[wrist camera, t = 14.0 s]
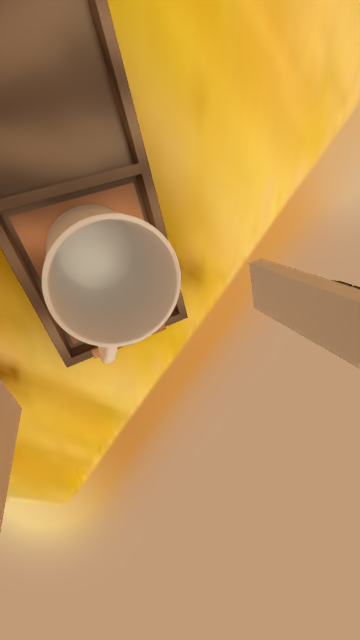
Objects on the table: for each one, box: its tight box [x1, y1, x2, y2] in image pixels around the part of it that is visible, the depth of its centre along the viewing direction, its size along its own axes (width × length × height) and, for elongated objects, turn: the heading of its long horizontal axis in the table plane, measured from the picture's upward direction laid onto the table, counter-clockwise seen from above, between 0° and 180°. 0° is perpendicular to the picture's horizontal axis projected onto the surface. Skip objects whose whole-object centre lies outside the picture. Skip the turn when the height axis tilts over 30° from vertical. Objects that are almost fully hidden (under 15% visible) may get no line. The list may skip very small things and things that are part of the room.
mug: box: [42, 205, 181, 364], centre depth 22 cm, size 12×8×12 cm
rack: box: [0, 0, 188, 367], centre depth 23 cm, size 30×14×3 cm, turn 14°
